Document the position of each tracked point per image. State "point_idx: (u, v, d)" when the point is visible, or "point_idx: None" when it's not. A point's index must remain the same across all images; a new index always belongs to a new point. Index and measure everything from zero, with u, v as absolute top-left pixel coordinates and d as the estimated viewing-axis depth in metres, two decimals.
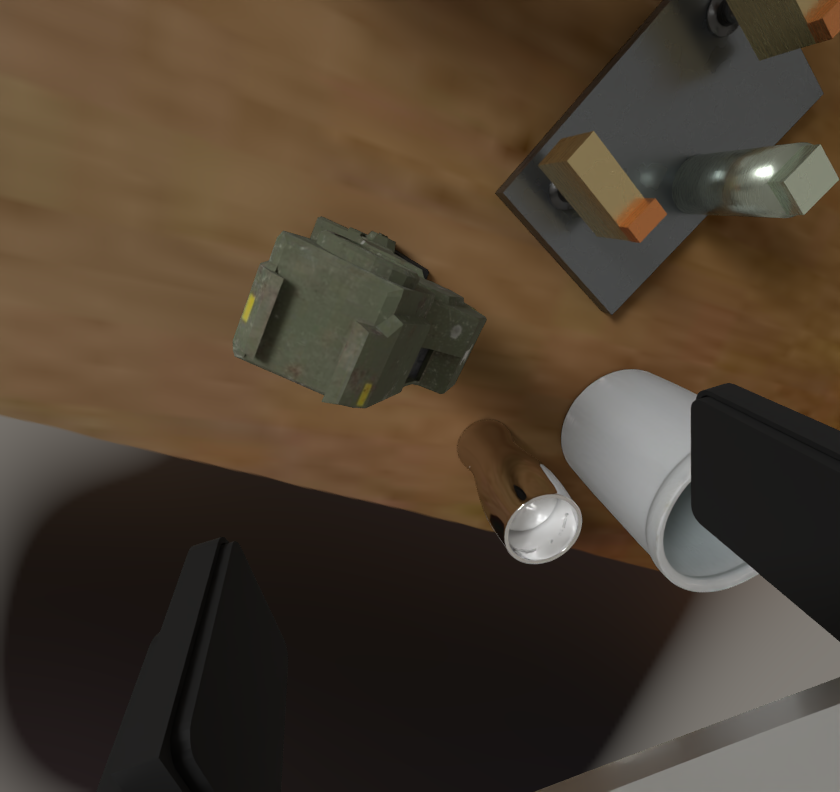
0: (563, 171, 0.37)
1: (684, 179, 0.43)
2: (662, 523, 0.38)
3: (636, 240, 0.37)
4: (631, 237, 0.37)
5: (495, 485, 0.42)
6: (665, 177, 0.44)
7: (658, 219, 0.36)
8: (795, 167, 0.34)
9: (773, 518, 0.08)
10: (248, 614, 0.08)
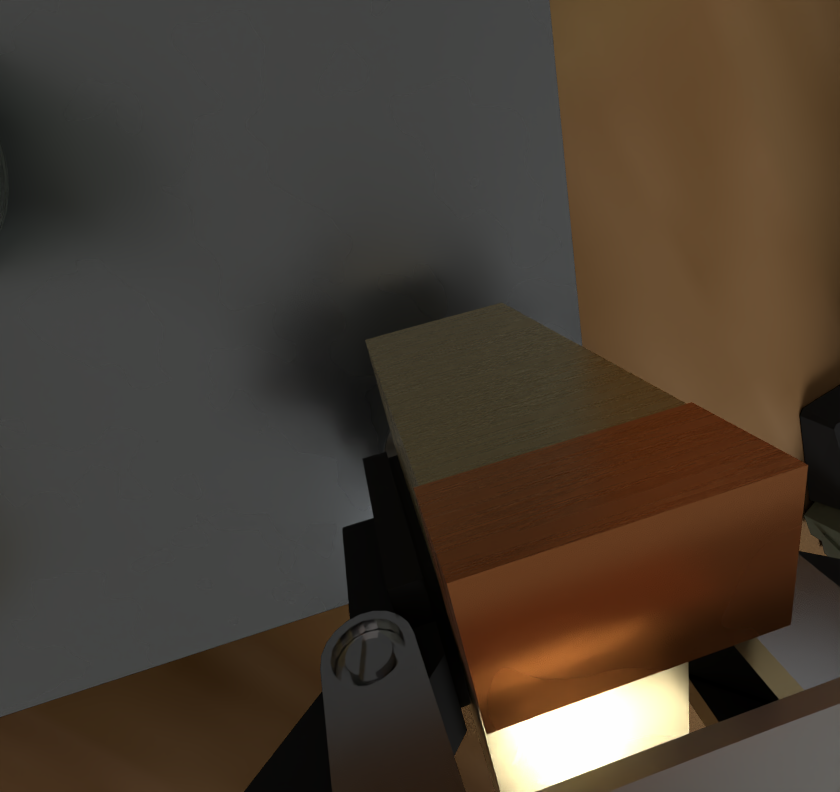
0: None
1: None
2: None
3: None
4: None
5: None
6: (33, 282, 0.10)
7: (550, 576, 0.03)
8: None
9: None
10: None
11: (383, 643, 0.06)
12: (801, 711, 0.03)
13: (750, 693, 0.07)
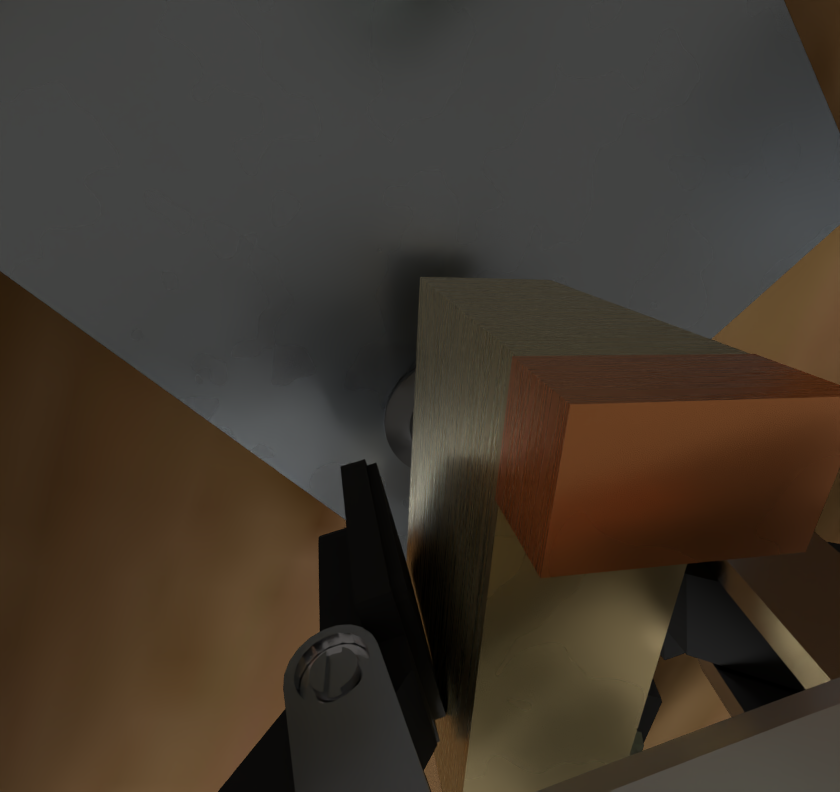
0: None
1: None
2: None
3: None
4: None
5: None
6: None
7: (649, 428, 0.04)
8: None
9: None
10: (393, 522, 0.10)
11: (348, 658, 0.06)
12: (801, 711, 0.03)
13: (784, 685, 0.07)
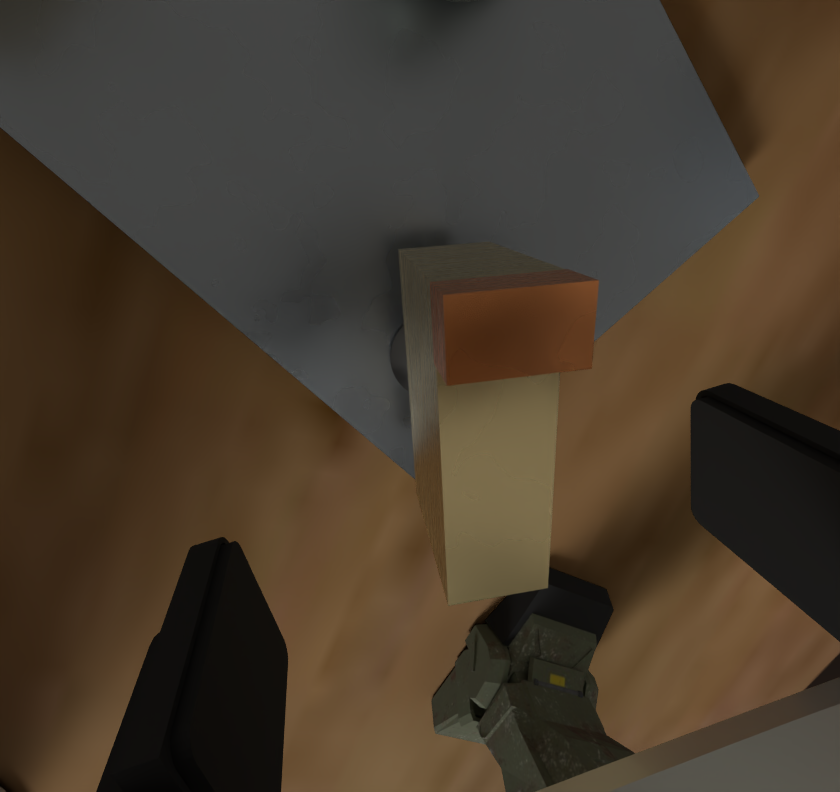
0: None
1: None
2: None
3: None
4: None
5: None
6: (427, 32, 0.14)
7: (485, 304, 0.08)
8: None
9: (773, 518, 0.08)
10: (248, 614, 0.08)
11: None
12: (801, 711, 0.03)
13: None
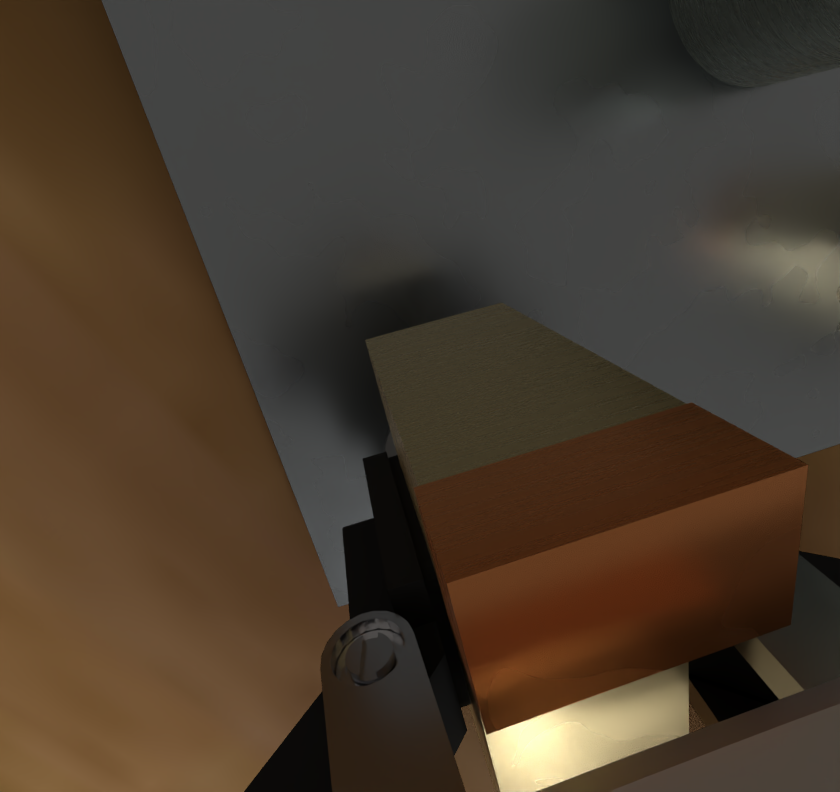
0: None
1: None
2: None
3: None
4: None
5: None
6: (838, 83, 0.12)
7: None
8: None
9: None
10: None
11: (383, 643, 0.06)
12: (801, 711, 0.03)
13: (751, 692, 0.07)
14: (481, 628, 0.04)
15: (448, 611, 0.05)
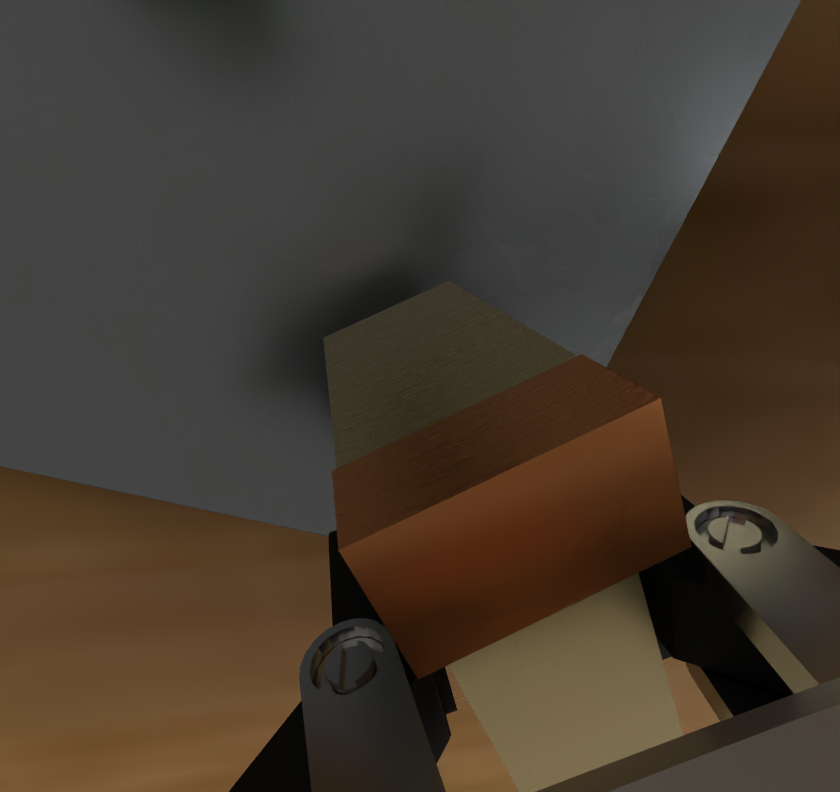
0: None
1: None
2: None
3: None
4: None
5: None
6: None
7: None
8: None
9: None
10: None
11: (363, 651, 0.06)
12: (801, 711, 0.03)
13: (769, 688, 0.07)
14: (383, 585, 0.04)
15: None
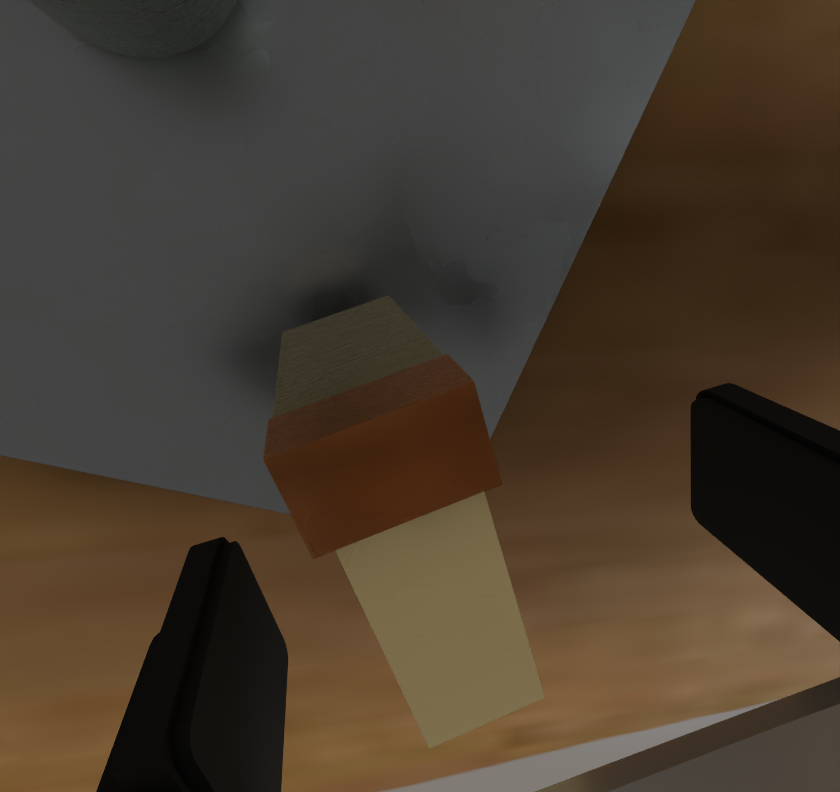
0: None
1: None
2: None
3: None
4: None
5: None
6: None
7: None
8: None
9: (773, 518, 0.08)
10: (248, 614, 0.08)
11: None
12: (801, 711, 0.03)
13: None
14: (291, 487, 0.06)
15: None
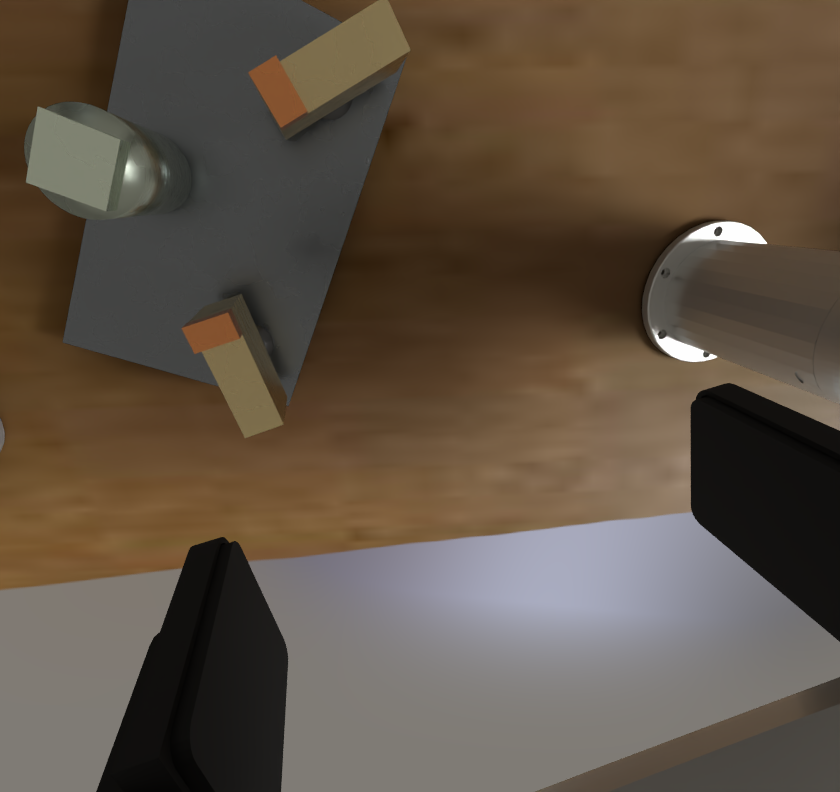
0: None
1: (183, 163, 0.31)
2: None
3: None
4: None
5: None
6: (202, 163, 0.33)
7: (276, 111, 0.25)
8: (116, 168, 0.23)
9: (773, 518, 0.08)
10: (248, 614, 0.08)
11: None
12: (801, 711, 0.03)
13: None
14: (188, 335, 0.28)
15: None
